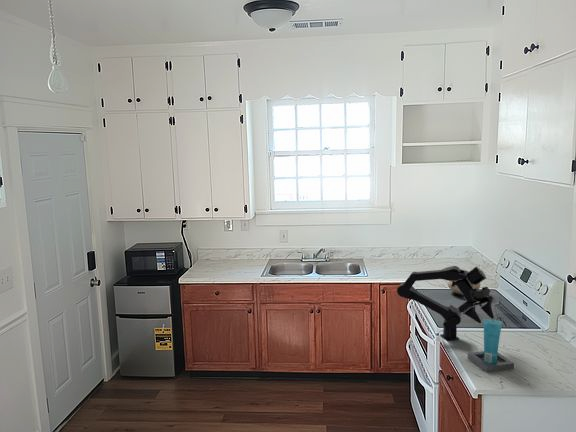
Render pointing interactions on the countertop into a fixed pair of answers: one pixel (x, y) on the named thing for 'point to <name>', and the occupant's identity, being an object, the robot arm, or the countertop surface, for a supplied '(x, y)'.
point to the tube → (491, 340)
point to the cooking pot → (458, 289)
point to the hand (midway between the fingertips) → (486, 320)
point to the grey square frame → (503, 365)
